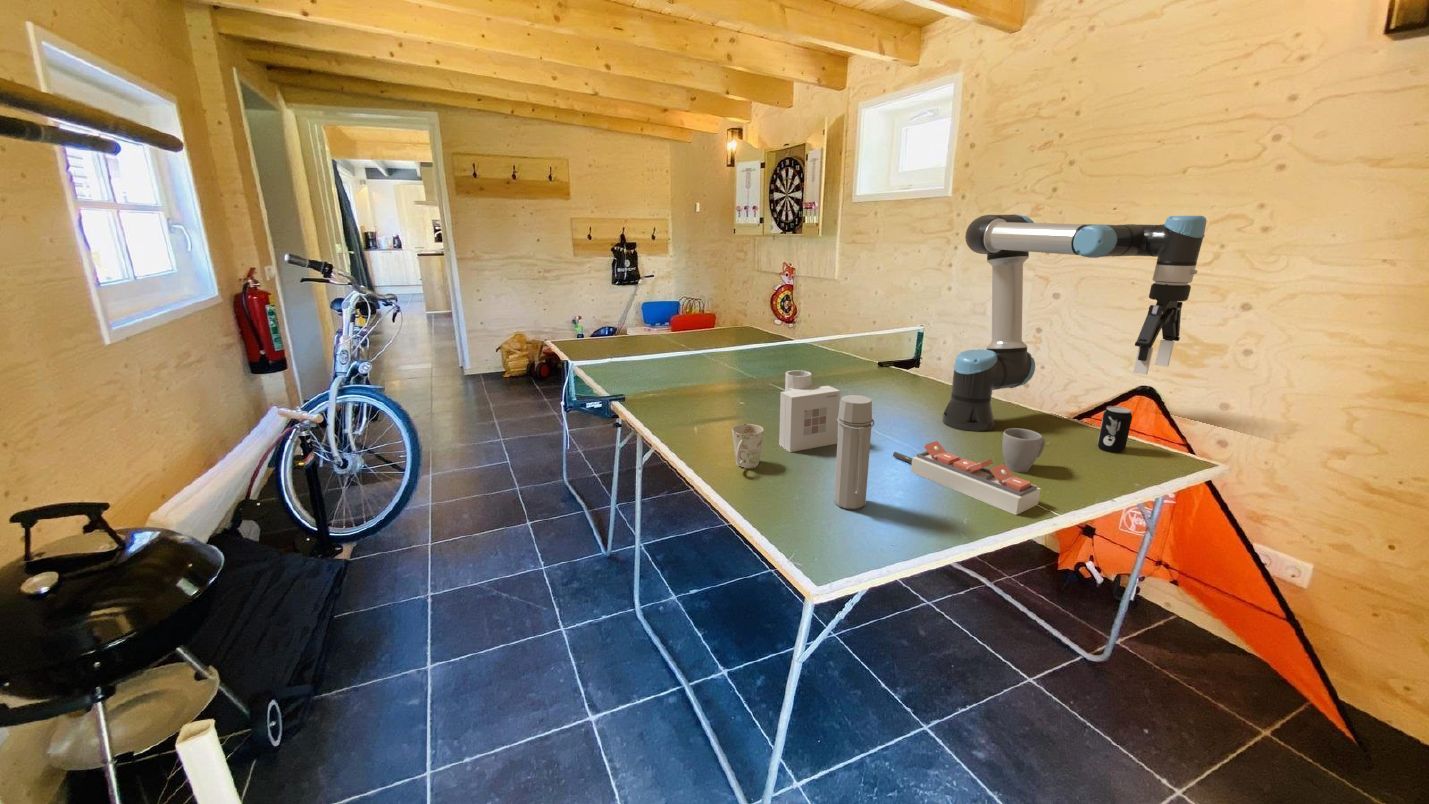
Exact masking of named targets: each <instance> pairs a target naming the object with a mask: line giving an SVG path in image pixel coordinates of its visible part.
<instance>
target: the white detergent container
mask: <svg viewBox="0 0 1429 804" xmlns="http://www.w3.org/2000/svg"><path fill="white" fill-rule="evenodd" d="M784 379H785V382H784V384H785V386H784V391H780V395H779V396H780V400H779V401H780V406H779V408H780V409H779V436H778V437H779V438H778V439H779V440H778V446H779V445H780V446H779V447H781V446H782V447H783V448H782V447H781V448H782V449H784V450H785V449H786V450H785V451H787V452H789V453H794V452H798V451H803V450H809V449H815V448H820V447H826V446H831V445H832V446H833V445H837V442H838V426H839V422H838V421H837V418H838V415H839V409H840V403H841V390H840V389H838V388H835V387H833V386H830V385H822V386H814V385H812V373H811V372H810V371H806V370H798V369H797V370H787V371H785V378H784Z"/></svg>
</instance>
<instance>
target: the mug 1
mask: <svg viewBox="0 0 1429 804" xmlns="http://www.w3.org/2000/svg"><path fill="white" fill-rule="evenodd" d="M764 432H765V431H764V428H763V426H761V425H758V424H752V423H742V424H737V425H734V426H733V427H732V429H731V433H732V441H733V442H732V443H733V449H734V456H735V463H736V466H737V465H738V466H737V467H739V466H741V467H744V468H743V469H754V468H756V466H757V467H758V466H759V465H758V464H759V463H760V458H761V451H762V445H763V439H764ZM741 467H740V468H741ZM753 467H754V468H753Z"/></svg>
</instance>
